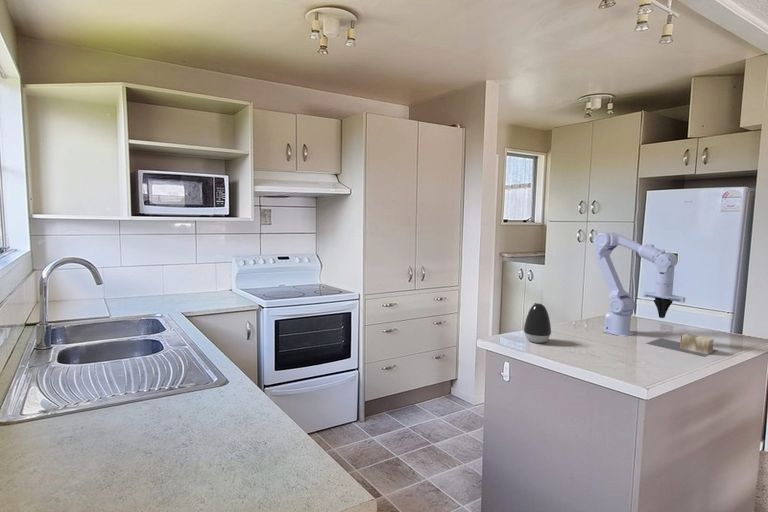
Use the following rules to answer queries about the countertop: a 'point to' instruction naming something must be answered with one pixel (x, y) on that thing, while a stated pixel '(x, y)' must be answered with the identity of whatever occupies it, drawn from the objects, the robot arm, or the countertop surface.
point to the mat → (675, 346)
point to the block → (696, 343)
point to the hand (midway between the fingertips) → (661, 317)
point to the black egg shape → (537, 324)
